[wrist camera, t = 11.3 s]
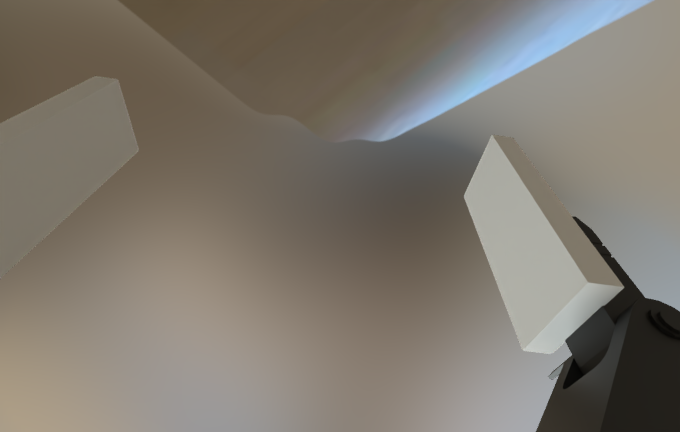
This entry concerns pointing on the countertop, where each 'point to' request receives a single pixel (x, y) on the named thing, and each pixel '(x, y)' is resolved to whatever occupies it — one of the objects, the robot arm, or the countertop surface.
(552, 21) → the countertop surface
